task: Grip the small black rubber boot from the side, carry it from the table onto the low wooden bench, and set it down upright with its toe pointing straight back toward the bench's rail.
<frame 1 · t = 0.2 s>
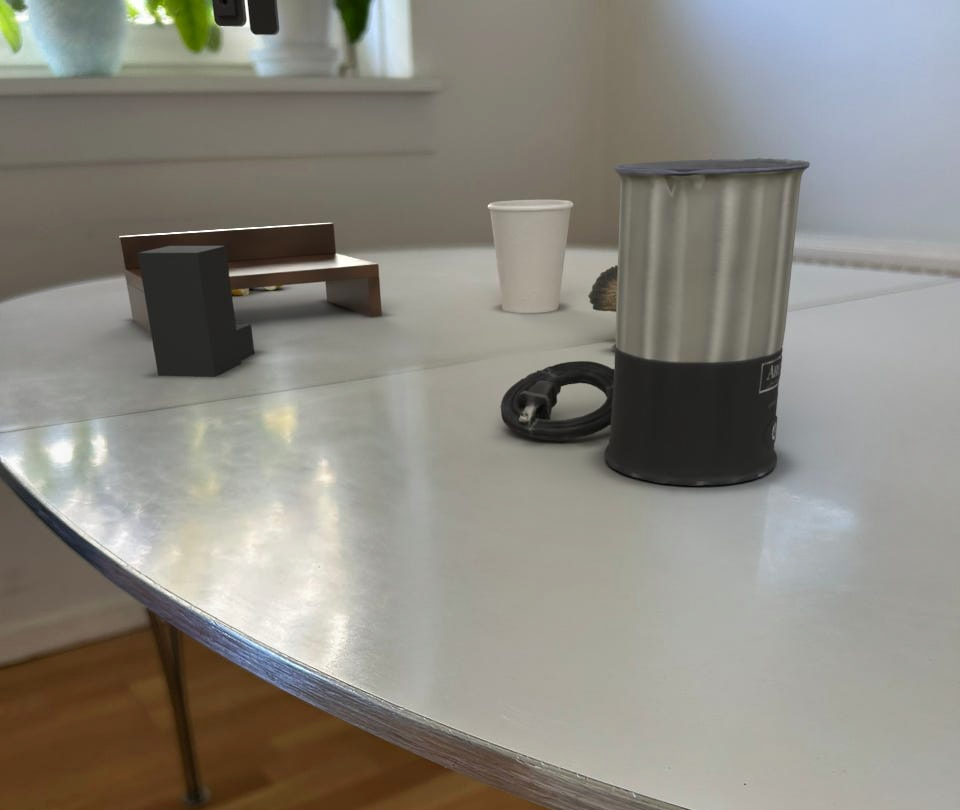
hand: (249, 30, 76), 24 cm above the table, tool pointing down, fingers open, 8 cm apart
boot: (200, 370, 79), on the table
eagle figurine: (638, 347, 84), on the table
wooden bench: (256, 318, 100), on the table
dixie cup: (530, 311, 102), on the table
milk frother: (629, 452, 57), on the table
fruit: (239, 293, 118), on the table
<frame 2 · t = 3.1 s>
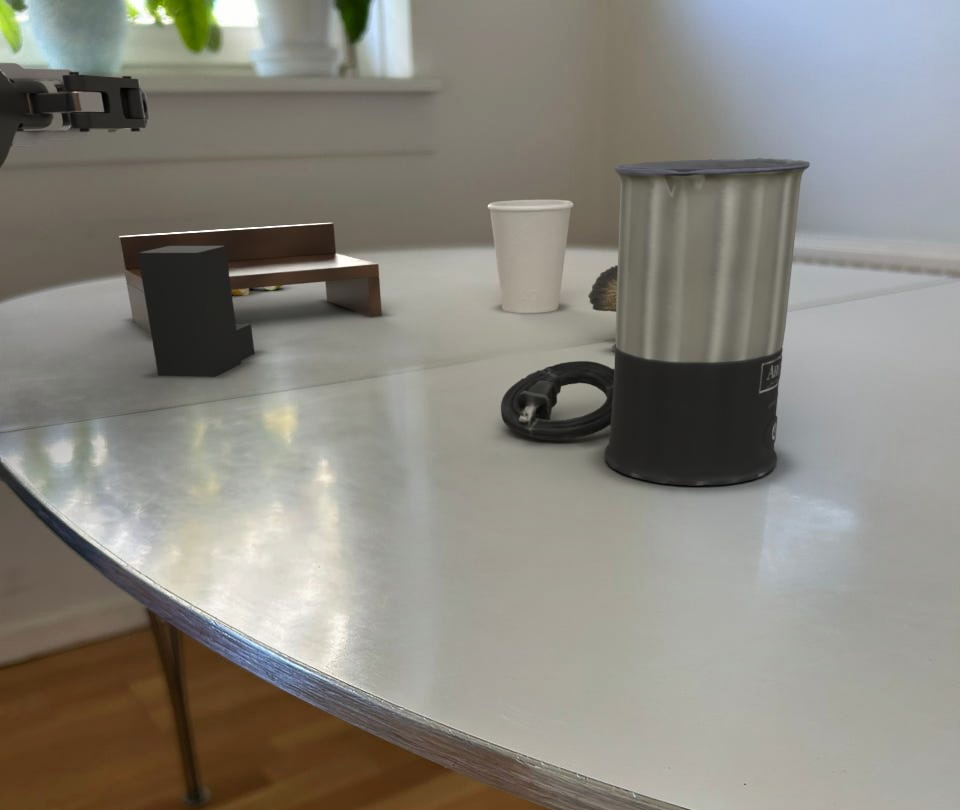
hand: (76, 109, 61), 18 cm above the table, tool horizontal, fingers open, 8 cm apart
nothing on the table moved.
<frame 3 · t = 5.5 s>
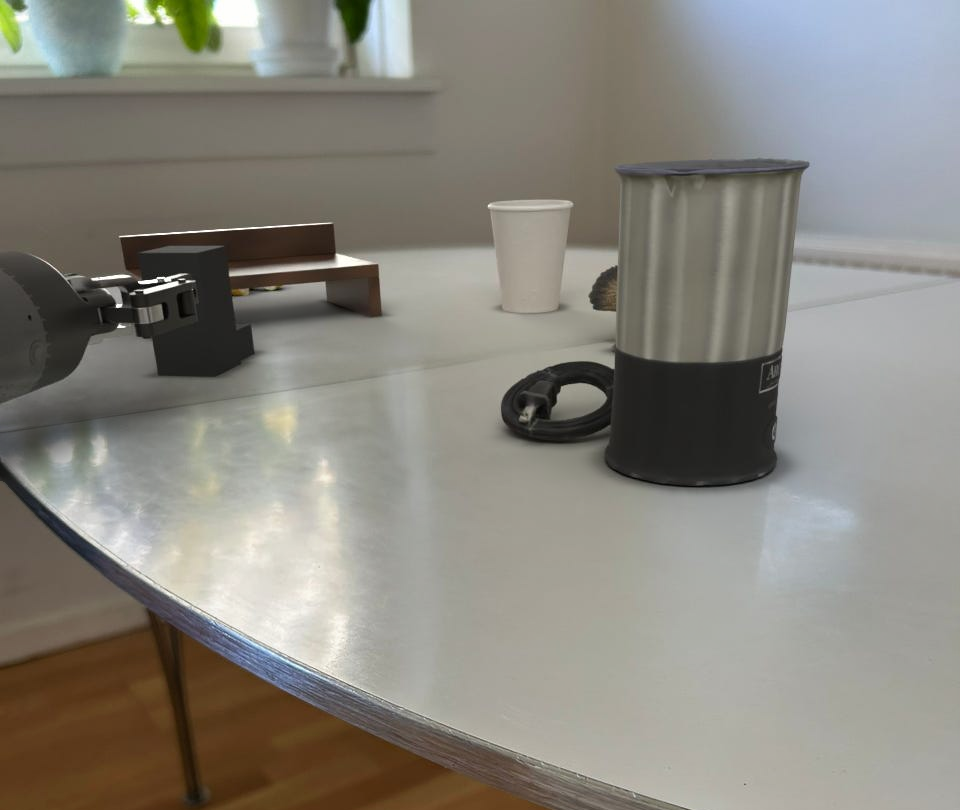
hand: (132, 289, 69), 7 cm above the table, tool horizontal, fingers open, 8 cm apart
nothing on the table moved.
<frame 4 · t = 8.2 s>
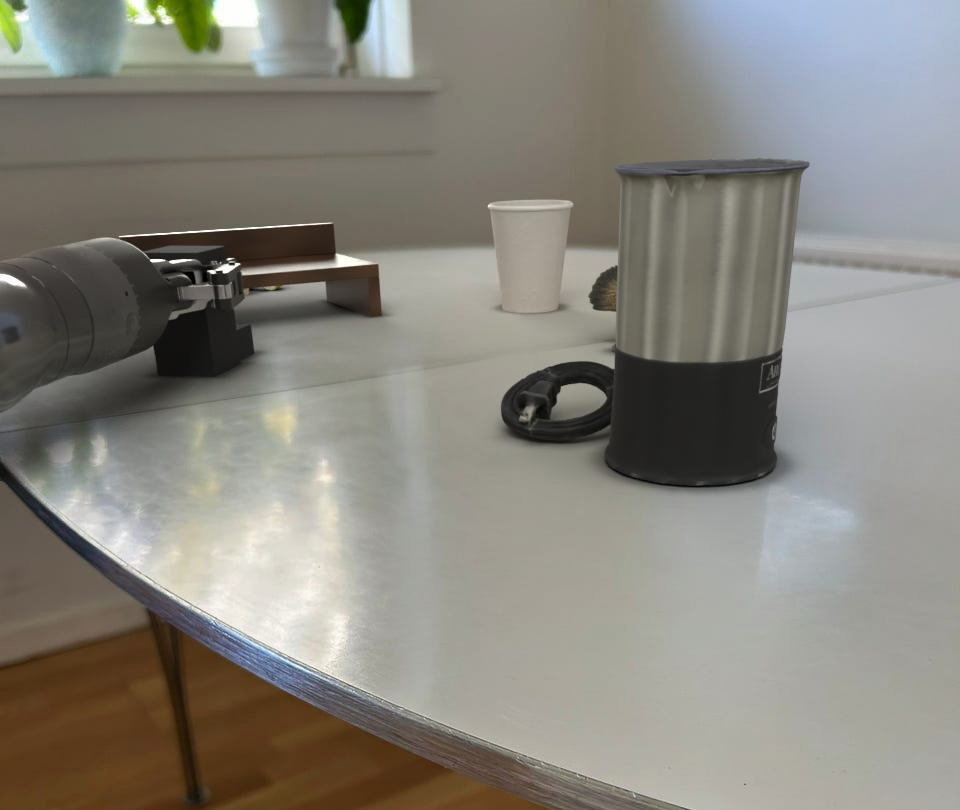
hand: (201, 272, 78), 7 cm above the table, tool horizontal, fingers closed on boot, 4 cm apart
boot: (200, 370, 79), on the table, touching gripper
everything else where it was.
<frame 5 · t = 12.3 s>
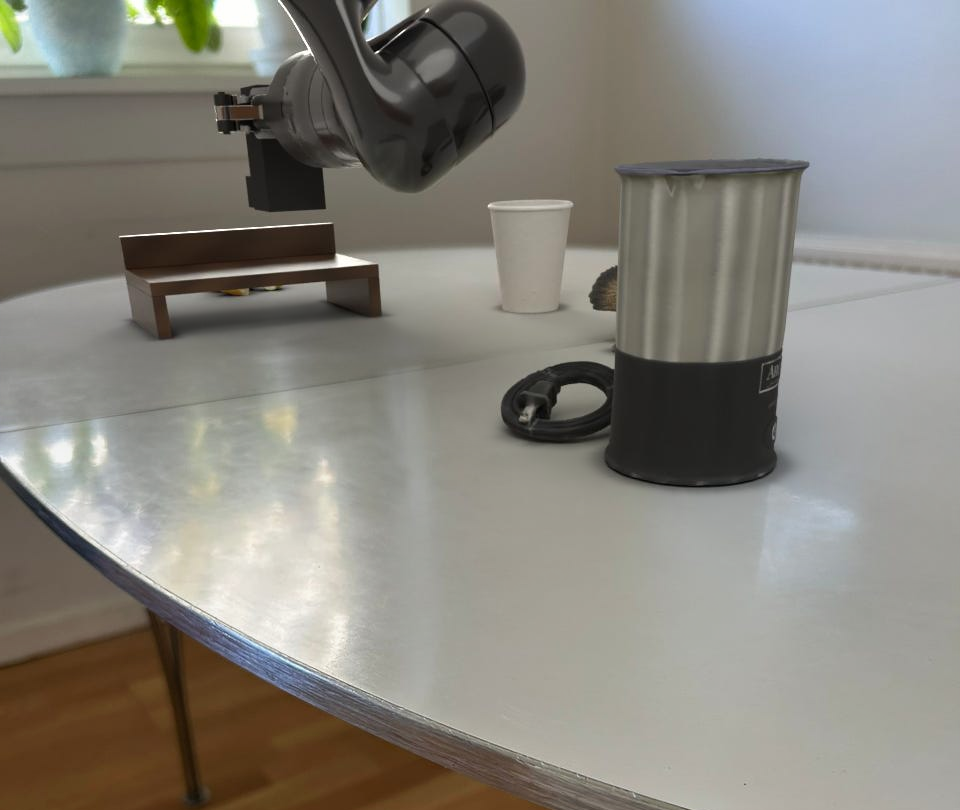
hand: (270, 115, 82), 18 cm above the table, tool horizontal, fingers closed on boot, 4 cm apart
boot: (289, 209, 83), point 11 cm above the table, touching gripper
everything else where it was.
when the fingers open (12 cm above the table, at t = 16.8 s): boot stays where it is, resting on wooden bench.
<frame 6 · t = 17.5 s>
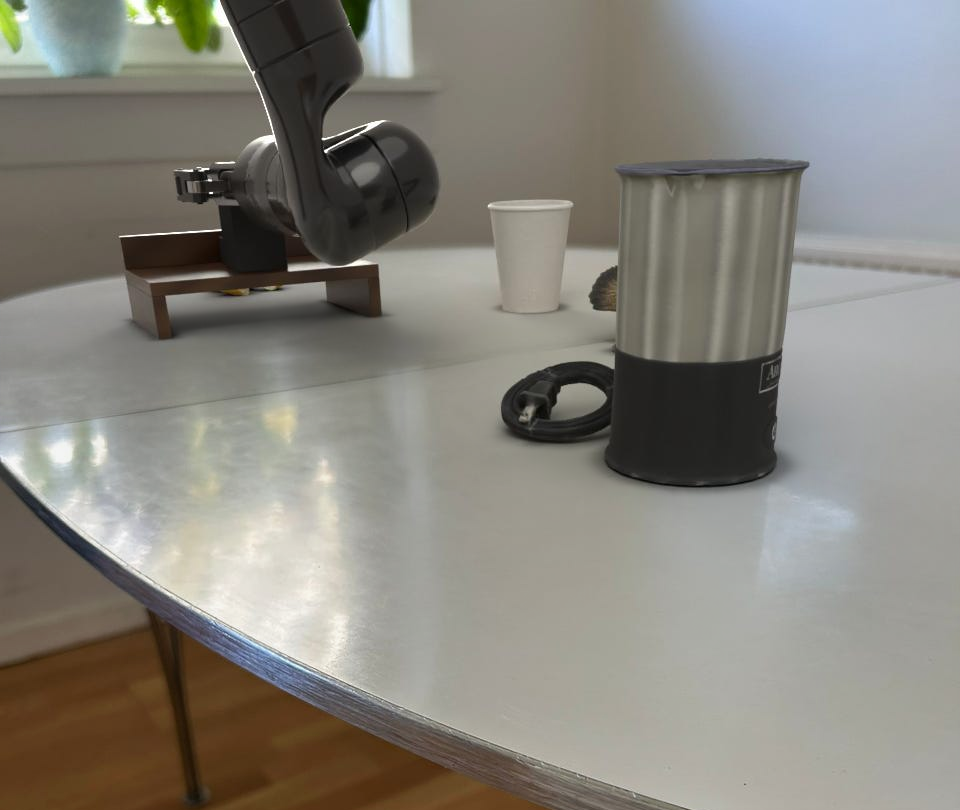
hand: (240, 180, 95), 13 cm above the table, tool horizontal, fingers open, 8 cm apart
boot: (256, 268, 96), point 5 cm above the table, touching wooden bench
everything else where it was.
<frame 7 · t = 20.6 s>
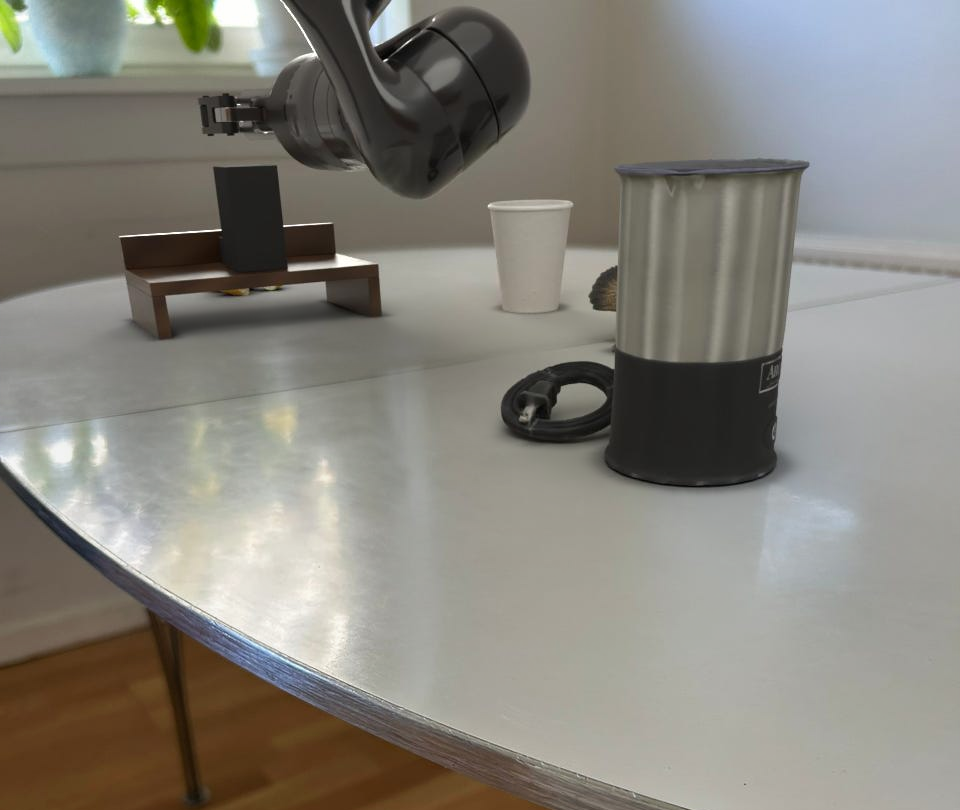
hand: (272, 116, 82), 18 cm above the table, tool horizontal, fingers open, 8 cm apart
nothing on the table moved.
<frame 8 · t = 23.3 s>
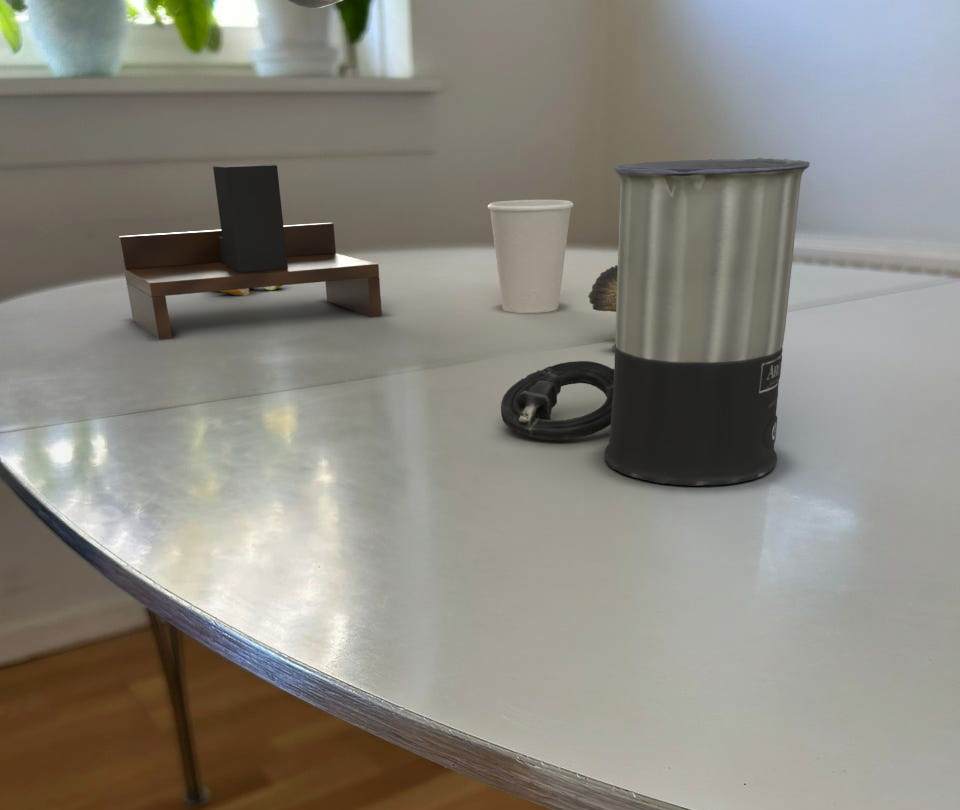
nothing on the table moved.
at the end: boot inside the target area on the wooden bench (0.9 cm from its centre), point 5.0 cm above the wooden bench's base; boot tilted 0°; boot touching wooden bench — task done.
